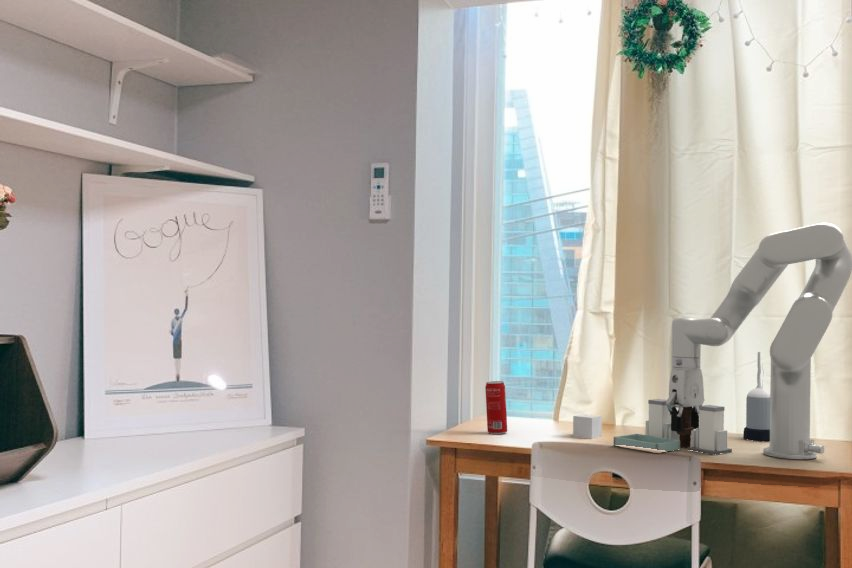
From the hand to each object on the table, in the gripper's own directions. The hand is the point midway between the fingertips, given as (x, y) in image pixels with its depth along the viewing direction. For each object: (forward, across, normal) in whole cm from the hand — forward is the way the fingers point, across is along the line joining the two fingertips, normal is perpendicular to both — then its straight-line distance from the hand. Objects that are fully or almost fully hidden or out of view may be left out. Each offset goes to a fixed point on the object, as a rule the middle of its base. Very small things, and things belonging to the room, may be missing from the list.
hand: (685, 429), depth 234 cm
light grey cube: (+5, -8, +27) cm, 29 cm away
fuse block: (+5, 0, 0) cm, 5 cm away
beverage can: (+5, -26, +46) cm, 53 cm away
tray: (+5, -10, +5) cm, 12 cm away
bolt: (+5, 0, 0) cm, 5 cm away
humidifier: (+5, +30, -4) cm, 31 cm away
